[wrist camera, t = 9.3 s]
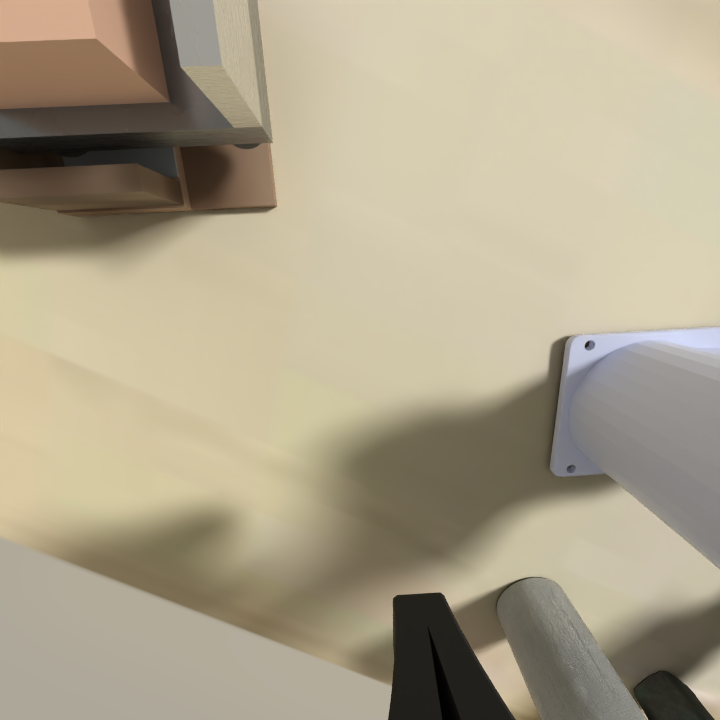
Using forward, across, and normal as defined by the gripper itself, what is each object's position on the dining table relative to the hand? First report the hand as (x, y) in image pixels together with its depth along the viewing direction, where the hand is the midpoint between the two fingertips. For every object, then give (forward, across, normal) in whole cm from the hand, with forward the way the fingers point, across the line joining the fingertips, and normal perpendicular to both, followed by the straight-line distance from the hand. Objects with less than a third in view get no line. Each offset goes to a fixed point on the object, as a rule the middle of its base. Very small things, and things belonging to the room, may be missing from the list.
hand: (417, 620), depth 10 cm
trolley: (+8, +8, -16) cm, 20 cm away
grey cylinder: (+10, -10, +12) cm, 18 cm away
